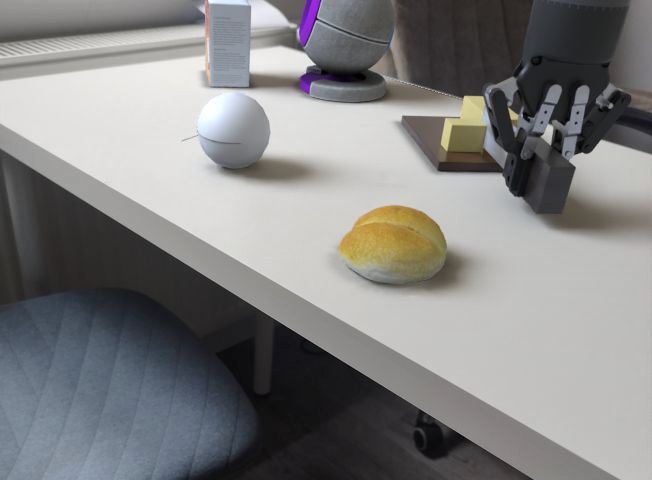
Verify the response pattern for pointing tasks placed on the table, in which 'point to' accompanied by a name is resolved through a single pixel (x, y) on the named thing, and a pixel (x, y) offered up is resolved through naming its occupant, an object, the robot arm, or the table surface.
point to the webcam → (345, 48)
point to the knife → (537, 172)
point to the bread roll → (394, 245)
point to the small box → (227, 42)
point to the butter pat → (463, 135)
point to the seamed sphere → (233, 130)
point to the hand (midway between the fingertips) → (530, 193)
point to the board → (429, 140)
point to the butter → (479, 109)
